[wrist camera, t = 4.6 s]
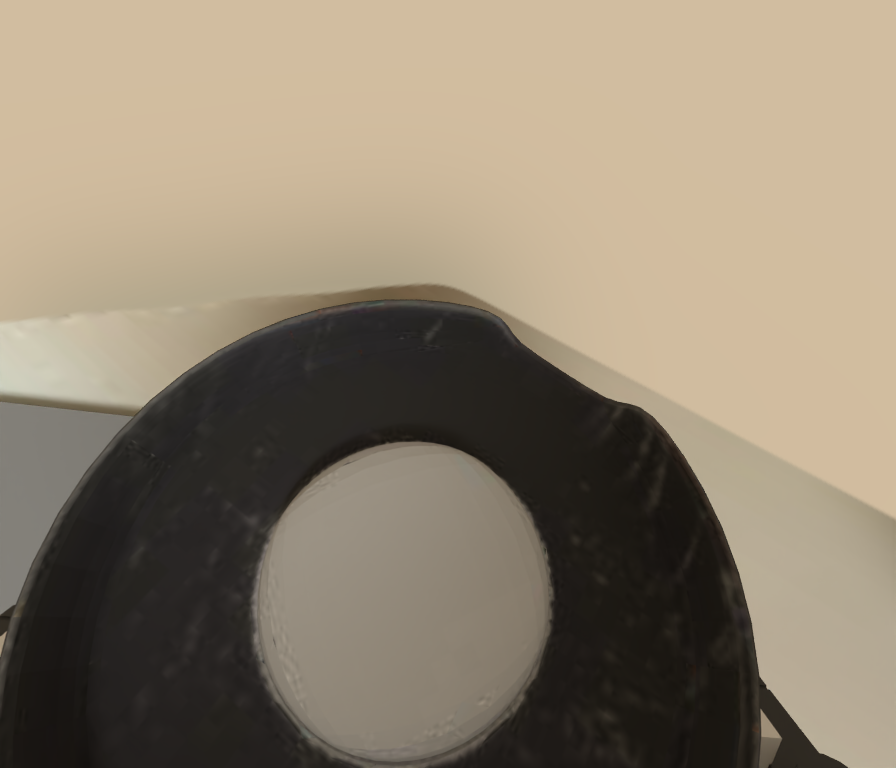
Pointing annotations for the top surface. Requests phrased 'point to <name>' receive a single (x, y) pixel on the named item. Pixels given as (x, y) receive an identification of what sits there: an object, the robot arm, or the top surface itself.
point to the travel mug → (383, 570)
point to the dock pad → (41, 477)
